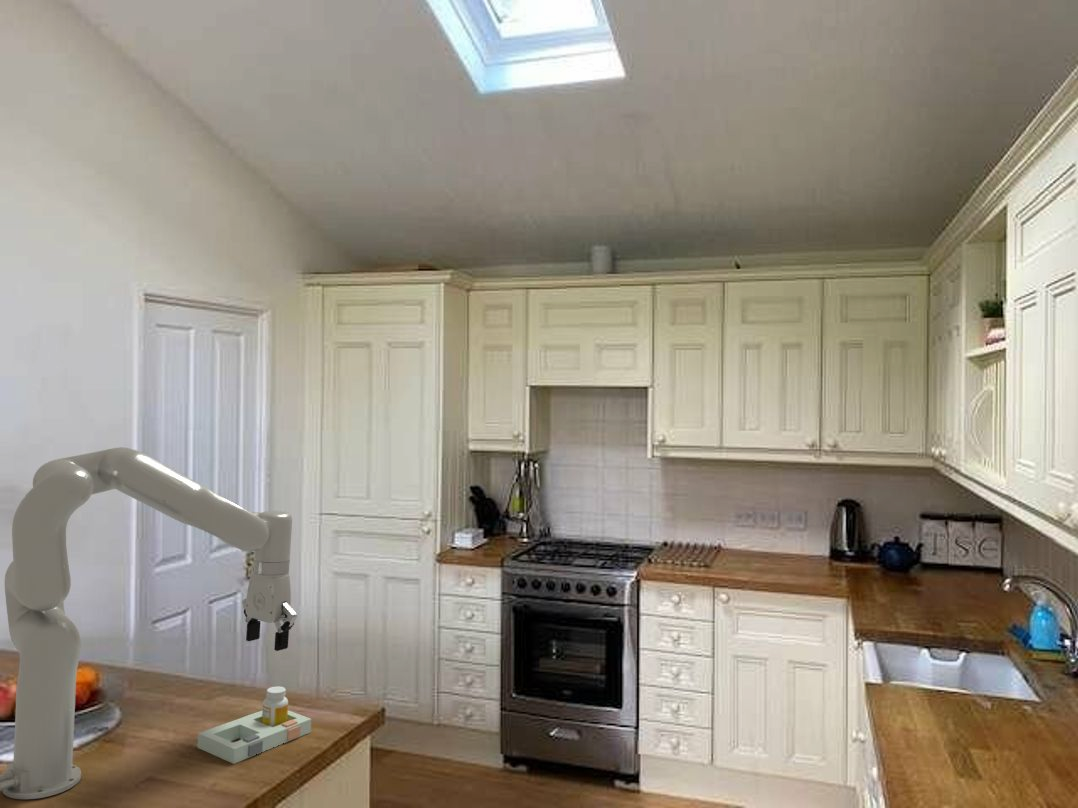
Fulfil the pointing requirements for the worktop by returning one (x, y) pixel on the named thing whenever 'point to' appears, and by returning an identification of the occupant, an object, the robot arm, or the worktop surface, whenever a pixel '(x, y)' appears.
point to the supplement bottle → (275, 707)
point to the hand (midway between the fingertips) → (266, 644)
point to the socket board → (251, 736)
